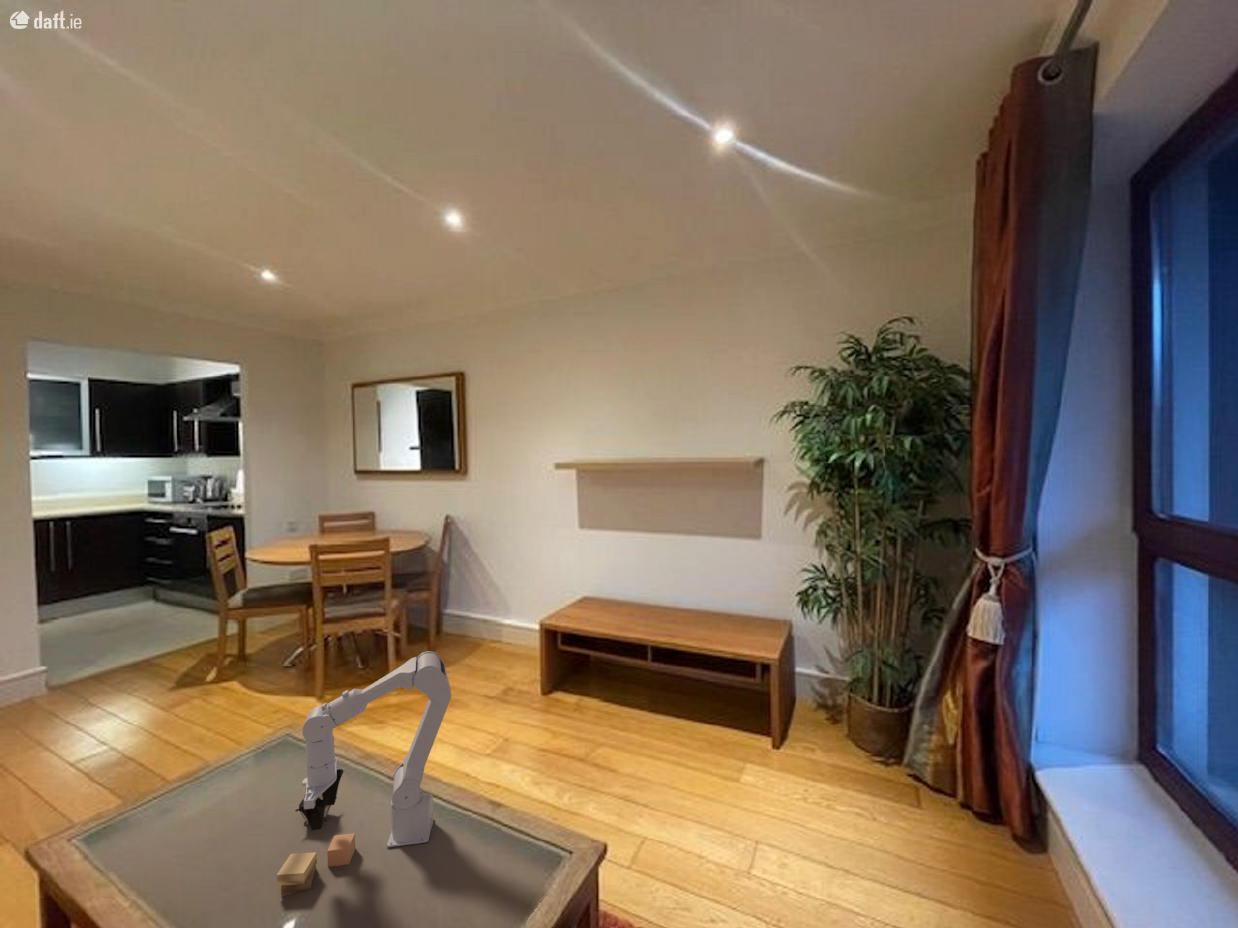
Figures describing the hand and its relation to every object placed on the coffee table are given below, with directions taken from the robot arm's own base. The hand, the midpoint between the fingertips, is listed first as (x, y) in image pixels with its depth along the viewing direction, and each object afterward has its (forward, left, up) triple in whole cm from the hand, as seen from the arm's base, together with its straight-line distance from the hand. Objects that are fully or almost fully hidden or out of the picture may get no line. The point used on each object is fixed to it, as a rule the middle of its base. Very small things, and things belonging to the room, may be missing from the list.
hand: (323, 815), depth 121 cm
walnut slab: (+3, +7, -10) cm, 12 cm away
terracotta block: (-4, +2, -10) cm, 11 cm away
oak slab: (+3, +7, -7) cm, 11 cm away
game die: (+6, -12, -10) cm, 17 cm away
